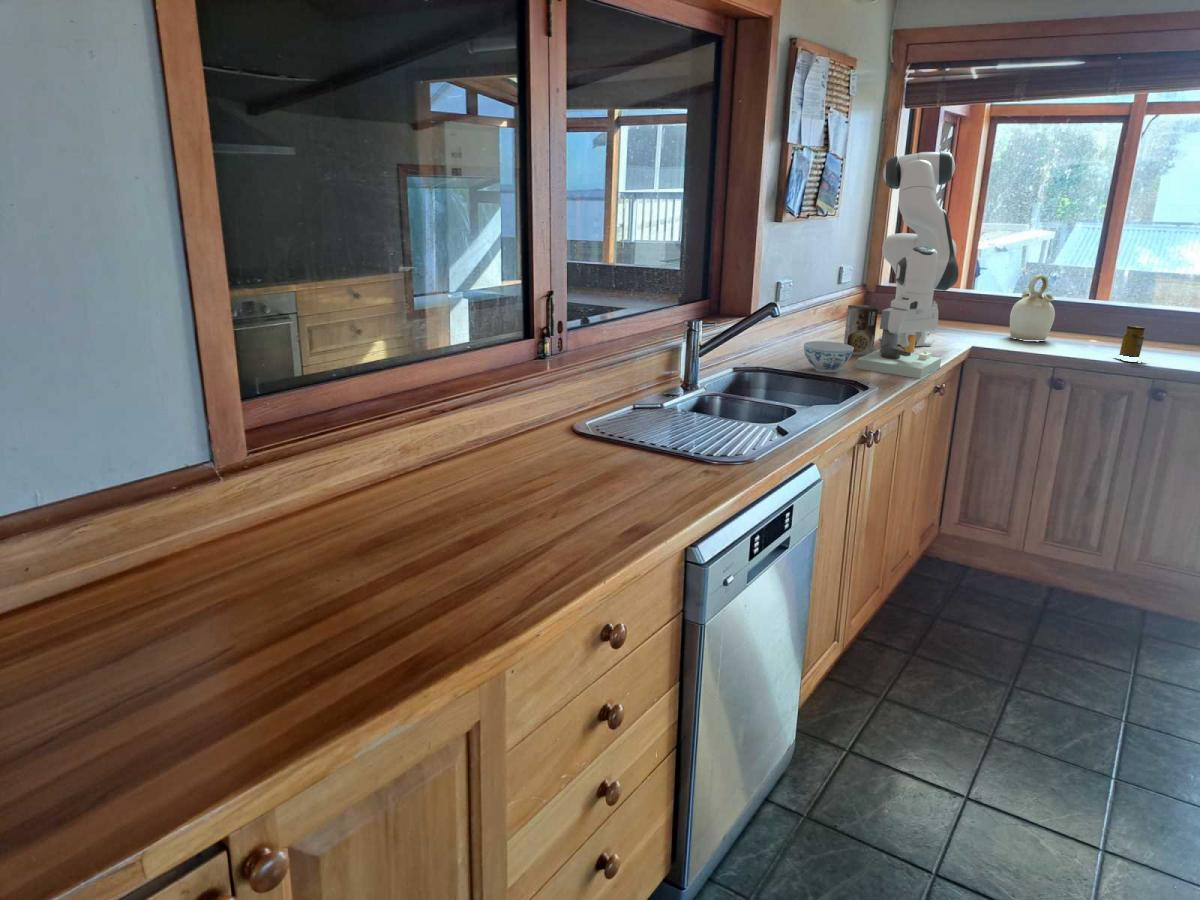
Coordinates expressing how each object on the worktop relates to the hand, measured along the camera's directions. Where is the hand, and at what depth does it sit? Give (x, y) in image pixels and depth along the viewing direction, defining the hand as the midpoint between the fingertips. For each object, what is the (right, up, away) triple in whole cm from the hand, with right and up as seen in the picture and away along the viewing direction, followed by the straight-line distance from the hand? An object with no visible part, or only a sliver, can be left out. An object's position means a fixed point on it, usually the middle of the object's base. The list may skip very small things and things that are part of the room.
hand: (910, 346), depth 265 cm
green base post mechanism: (-2, -6, +6) cm, 9 cm away
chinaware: (-27, -8, -1) cm, 28 cm away
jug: (+70, +10, +66) cm, 97 cm away
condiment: (+88, -2, +32) cm, 94 cm away
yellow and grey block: (-3, -3, +5) cm, 6 cm away
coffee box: (-9, 0, +26) cm, 28 cm away
